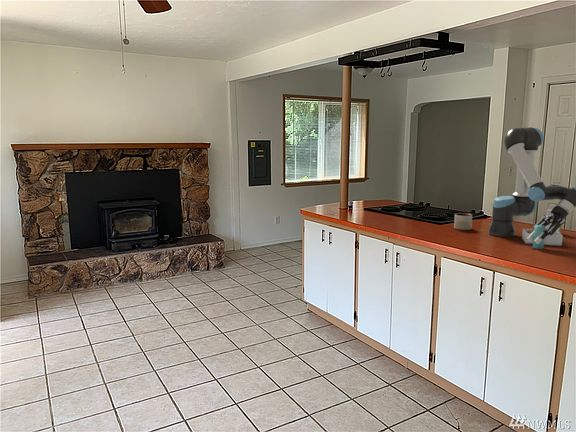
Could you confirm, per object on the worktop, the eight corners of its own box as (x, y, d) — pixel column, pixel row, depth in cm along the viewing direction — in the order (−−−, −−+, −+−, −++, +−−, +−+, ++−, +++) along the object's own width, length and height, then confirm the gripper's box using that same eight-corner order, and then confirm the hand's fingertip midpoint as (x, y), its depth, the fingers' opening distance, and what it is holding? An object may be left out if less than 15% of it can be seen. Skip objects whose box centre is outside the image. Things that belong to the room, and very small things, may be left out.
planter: (467, 226, 291) (467, 212, 289) (474, 230, 280) (475, 215, 279) (451, 227, 291) (452, 213, 289) (458, 230, 280) (458, 216, 278)
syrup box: (552, 234, 265) (555, 210, 262) (544, 232, 270) (546, 209, 268) (560, 233, 266) (562, 210, 264) (552, 231, 272) (554, 208, 269)
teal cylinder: (533, 248, 233) (535, 226, 230) (532, 246, 237) (533, 224, 235) (544, 249, 231) (546, 227, 229) (542, 246, 235) (544, 225, 233)
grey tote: (525, 243, 243) (526, 233, 242) (522, 238, 256) (522, 228, 255) (561, 245, 237) (562, 235, 236) (556, 240, 250) (557, 230, 249)
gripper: (579, 217, 225) (548, 250, 225) (553, 211, 242) (524, 241, 242) (571, 207, 223) (540, 240, 223) (545, 202, 240) (517, 233, 241)
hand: (532, 241), depth 233 cm, fingers closed on teal cylinder, 5 cm apart
